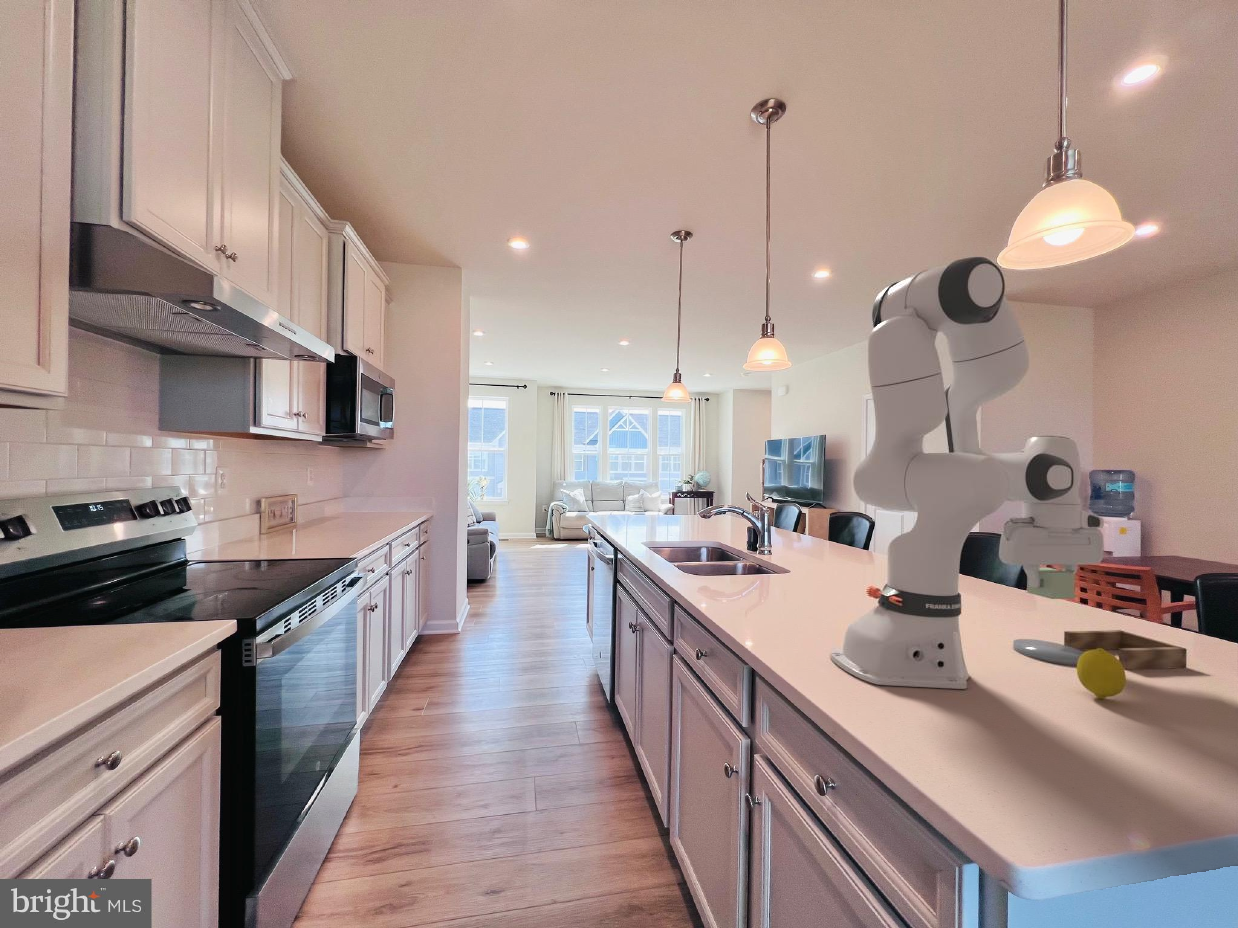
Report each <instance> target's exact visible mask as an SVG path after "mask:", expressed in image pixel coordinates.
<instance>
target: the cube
mask: <svg viewBox="0 0 1238 928" xmlns="http://www.w3.org/2000/svg"><path fill="white" fill-rule="evenodd" d="M1062 570H1063V569H1057V568H1052V567H1040V570H1039V571H1037V572H1038V575H1039V577H1040V578H1041V579H1044V583H1043V584H1044V587H1042V588H1034V587H1030V586H1029V577H1028V576H1027V575H1026V578H1027V579H1026V593H1028V594H1031V595H1035V596H1038V597H1039V596H1040V597H1043V598H1047V599H1050V600H1062V599H1063V600H1066V599H1067V600H1068V599H1075V575H1074V573H1072V572H1067V571H1062Z"/></svg>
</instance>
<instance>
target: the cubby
mask: <svg viewBox="0 0 1238 928" xmlns="http://www.w3.org/2000/svg"><path fill="white" fill-rule="evenodd" d="M1063 632H1064V633H1063V635H1064V636H1063V637H1064V638H1063V639H1064V640H1063V641H1064V642H1063V645H1065V646H1069V647H1072V648H1075V649H1077V650H1080V651H1082V650H1083V651H1089V650H1094V649H1097V648H1102V649H1104V650H1118V660H1119V661H1120V662H1121V664H1122V666H1123V668H1124V671H1127V670H1149V669H1150V670H1152V669H1153V670H1154V669H1173V668H1174V669H1180V668H1181V669H1182V668H1183V669H1184V668H1187V655H1188V654H1187V649H1188V648H1185V647H1181V646H1177V645H1175V644H1170V643H1167V642H1164V641H1160V640H1157V639H1153V638H1151V637H1150V638H1149V637H1145V636H1143V635H1139V634H1135V633H1131V632H1128V631H1125V630H1121V629H1120V630H1117V629H1116V630H1115V629H1114V630H1070V631H1069V630H1068V631H1063Z"/></svg>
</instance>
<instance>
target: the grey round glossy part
mask: <svg viewBox="0 0 1238 928" xmlns="http://www.w3.org/2000/svg"><path fill="white" fill-rule="evenodd" d="M1012 644H1013V645H1012V646H1013V650H1014V651H1016V652H1017V653H1018V654H1021V655H1023V656H1026V657H1028V658H1031V659H1035V660H1038V661H1042V662H1048V663H1052V664H1058V665H1065V666H1077V663H1078V660H1079V657H1080V656H1081V655H1082V654H1083V653H1084V652H1085V651H1082V650H1077V649H1075V648H1072V647H1069V646H1065V645H1064V644H1061V643H1057V642H1052V641H1048V640H1047V641H1046V640H1041V639H1040V640H1039V639H1034V638H1033V639H1031V638H1018V639H1014V640H1013V643H1012Z"/></svg>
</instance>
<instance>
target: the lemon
mask: <svg viewBox="0 0 1238 928" xmlns="http://www.w3.org/2000/svg"><path fill="white" fill-rule="evenodd" d="M1083 652H1084V653H1083V654H1082V655H1081V656H1080V657H1079V660H1078V663H1077V665H1076V674H1077V677H1078V679H1079V682H1080V684H1081V685H1082V686H1083V687H1084V688H1085V689H1086V690H1087V691H1089V692H1091V693H1092V694H1094V695H1095V696H1096V697H1097V698H1098V699H1100V700H1104V699H1106V698H1109V697H1114V696H1117V695H1120V694H1121V693H1122V692H1123V690H1124V689H1125V686H1126V681H1127V679H1126V678H1127V677H1126V670H1125V669H1124V668H1123V666H1122V664H1121V662H1120V661H1119V658H1118V657H1116V656H1115V655H1114V654H1112V653H1110V652H1108V651H1106V649H1102V648H1097V649H1094V650H1085V651H1083Z"/></svg>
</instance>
